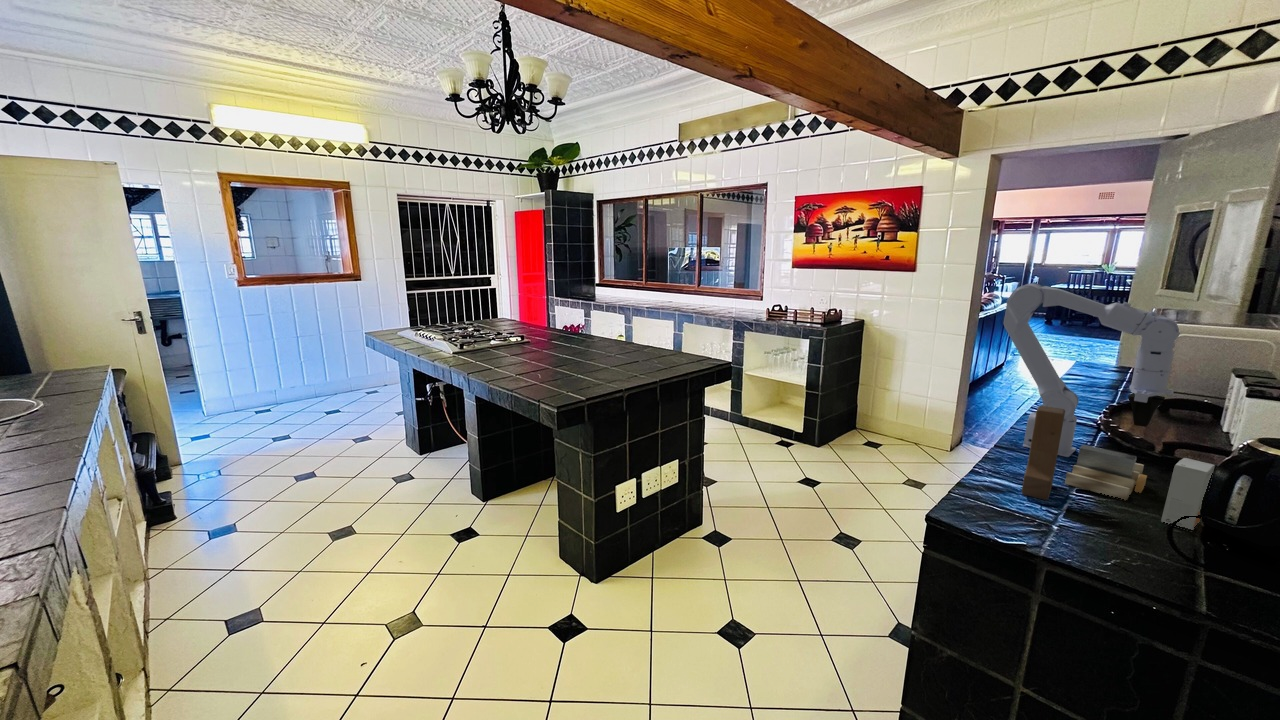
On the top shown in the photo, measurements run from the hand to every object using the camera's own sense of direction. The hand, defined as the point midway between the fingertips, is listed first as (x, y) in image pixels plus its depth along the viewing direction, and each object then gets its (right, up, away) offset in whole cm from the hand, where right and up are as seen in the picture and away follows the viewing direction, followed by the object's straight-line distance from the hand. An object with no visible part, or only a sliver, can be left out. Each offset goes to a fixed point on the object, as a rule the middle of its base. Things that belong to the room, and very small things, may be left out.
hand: (1140, 425), depth 115 cm
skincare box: (-15, -16, -22) cm, 31 cm away
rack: (-13, -12, -4) cm, 18 cm away
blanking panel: (-13, -11, -4) cm, 18 cm away
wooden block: (-31, -13, -8) cm, 35 cm away
